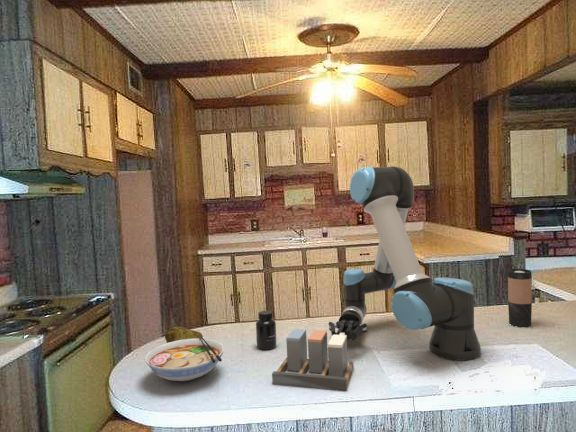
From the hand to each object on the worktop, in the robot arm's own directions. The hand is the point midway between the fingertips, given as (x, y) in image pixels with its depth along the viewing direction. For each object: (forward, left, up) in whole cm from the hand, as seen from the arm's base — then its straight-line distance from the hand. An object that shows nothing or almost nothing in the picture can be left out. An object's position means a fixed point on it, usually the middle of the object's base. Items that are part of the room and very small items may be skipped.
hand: (338, 344), depth 128 cm
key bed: (+4, +8, -7) cm, 12 cm away
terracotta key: (+6, +3, -7) cm, 9 cm away
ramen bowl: (+39, +23, -7) cm, 46 cm away
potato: (+55, +6, -7) cm, 56 cm away
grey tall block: (-1, +4, -7) cm, 8 cm away
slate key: (+12, +4, -7) cm, 14 cm away
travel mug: (-47, -60, -7) cm, 77 cm away
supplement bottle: (+29, -6, -7) cm, 31 cm away
